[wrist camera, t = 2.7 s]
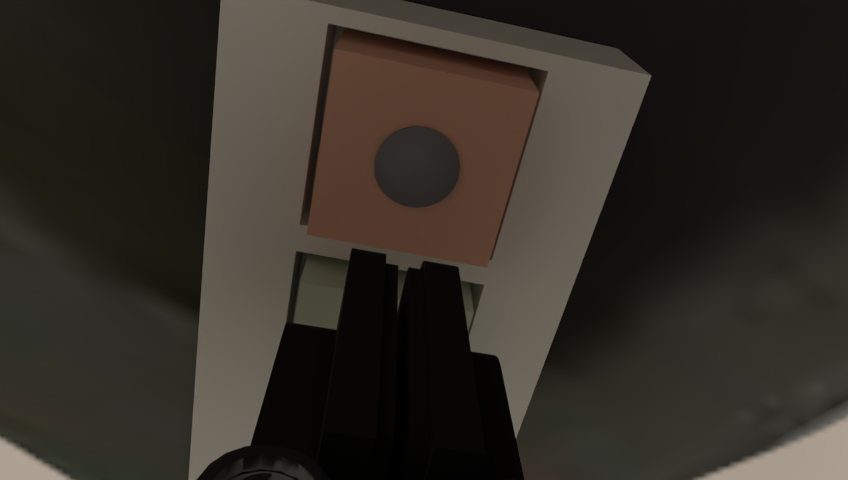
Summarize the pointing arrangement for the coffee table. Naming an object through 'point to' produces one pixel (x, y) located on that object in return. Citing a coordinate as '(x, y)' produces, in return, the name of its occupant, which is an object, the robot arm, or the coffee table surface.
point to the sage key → (339, 292)
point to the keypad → (289, 246)
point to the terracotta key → (418, 148)
